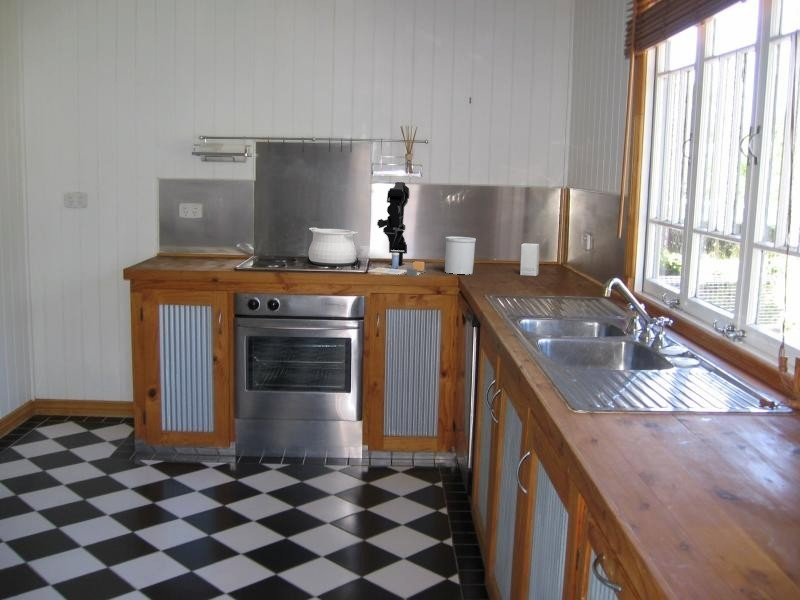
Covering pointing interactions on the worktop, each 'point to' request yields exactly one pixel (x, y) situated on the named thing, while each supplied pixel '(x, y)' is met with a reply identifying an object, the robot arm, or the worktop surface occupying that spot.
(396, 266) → the marker
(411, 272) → the switch base
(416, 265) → the orange cube
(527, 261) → the skincare box
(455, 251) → the utensil holder
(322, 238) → the pot
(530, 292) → the worktop surface
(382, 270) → the sheet
